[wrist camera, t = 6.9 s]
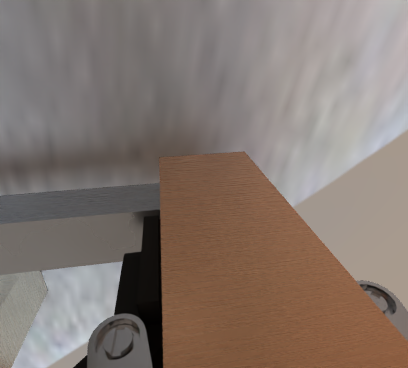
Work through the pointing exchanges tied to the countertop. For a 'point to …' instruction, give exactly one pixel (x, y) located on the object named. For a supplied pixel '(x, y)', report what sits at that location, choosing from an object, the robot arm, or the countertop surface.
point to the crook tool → (214, 266)
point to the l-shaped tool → (18, 311)
